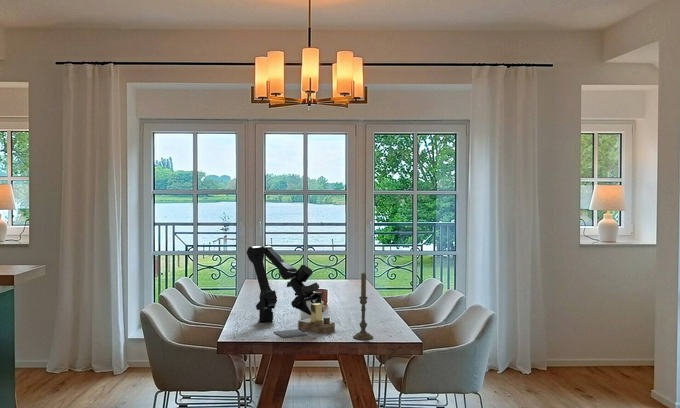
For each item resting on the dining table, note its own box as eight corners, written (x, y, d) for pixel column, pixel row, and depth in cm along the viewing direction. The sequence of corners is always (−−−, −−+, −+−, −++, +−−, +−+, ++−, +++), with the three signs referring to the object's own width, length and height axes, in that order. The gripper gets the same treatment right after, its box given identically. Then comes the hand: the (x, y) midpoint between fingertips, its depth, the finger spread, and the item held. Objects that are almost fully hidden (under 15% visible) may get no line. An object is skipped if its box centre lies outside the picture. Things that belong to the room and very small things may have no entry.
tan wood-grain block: (310, 325, 292) (310, 304, 292) (317, 323, 296) (317, 302, 296) (315, 326, 290) (315, 304, 290) (322, 324, 294) (322, 303, 294)
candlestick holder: (372, 335, 282) (372, 270, 282) (374, 340, 273) (374, 273, 273) (352, 335, 282) (353, 270, 282) (353, 340, 273) (354, 272, 272)
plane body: (298, 329, 295) (298, 315, 295) (308, 326, 301) (308, 313, 301) (324, 333, 285) (324, 319, 285) (334, 330, 292) (334, 317, 292)
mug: (299, 321, 314) (299, 299, 313) (300, 317, 322) (301, 296, 322) (323, 321, 314) (323, 299, 313) (323, 318, 322) (323, 297, 322)
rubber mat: (273, 332, 286) (273, 331, 286) (297, 330, 292) (297, 329, 292) (283, 338, 275) (283, 336, 275) (307, 335, 281) (307, 334, 281)
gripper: (296, 279, 288) (314, 305, 282) (320, 275, 303) (338, 300, 297) (283, 294, 293) (301, 320, 287) (308, 290, 308) (325, 314, 302)
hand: (317, 313), depth 293 cm, fingers open, 9 cm apart
